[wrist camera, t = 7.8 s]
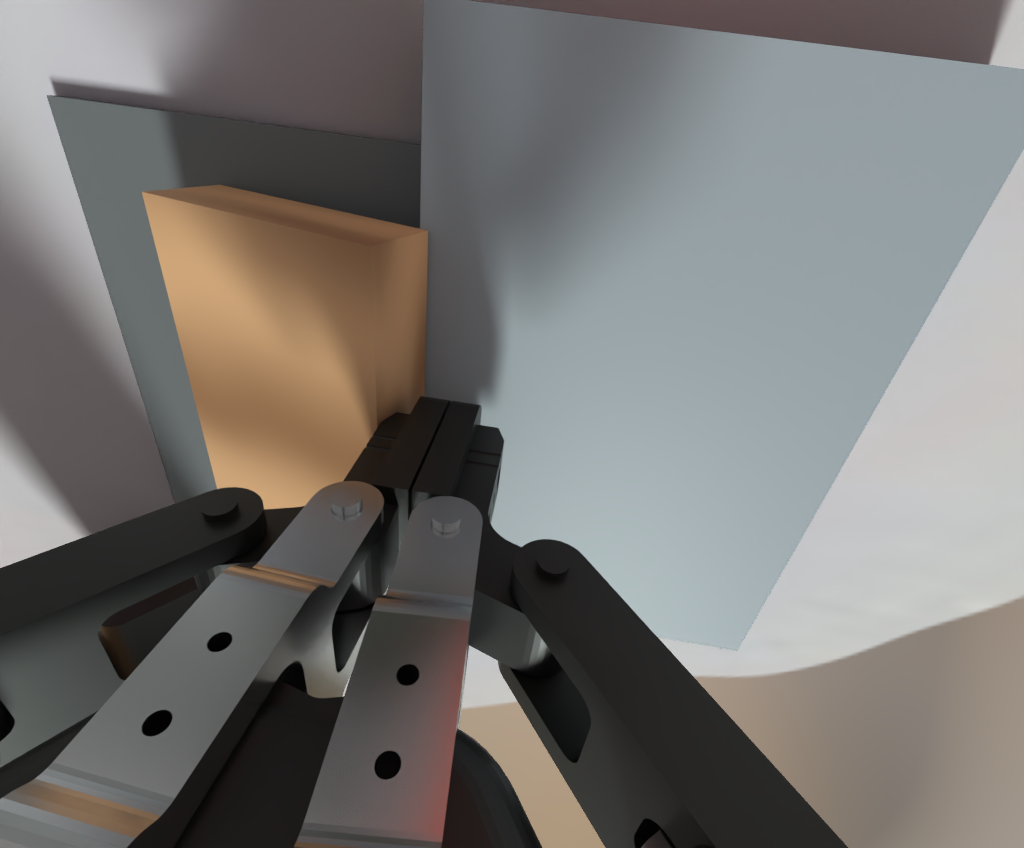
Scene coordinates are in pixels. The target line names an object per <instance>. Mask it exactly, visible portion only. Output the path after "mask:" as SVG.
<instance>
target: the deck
mask: <svg viewBox="0 0 1024 848" xmlns="http://www.w3.org/2000/svg"><path fill="white" fill-rule="evenodd" d="M1023 149H1024V69H1018V68H1010V67H1002V66H994V65H986V64H977V63H969V62H961V61H953V60H945V59H937V58H929V57H921V56H913V55H905V54H897V53H889V52H881V51H873V50H865V49H857V48H849V47H841V46H833V45H825V44H817V43H809V42H801V41H792V40H784V39H776V38H768V37H760V36H752V35H744V34H736V33H728V32H720V31H712V30H704V29H696V28H688V27H680V26H672V25H664V24H656V23H648V22H640V21H632V20H624V19H616V18H607V17H599V16H591V15H583V14H575V13H567V12H559V11H551V10H543V9H535V8H527V7H519V6H511V5H503V4H495V3H487V2H479V1H471V0H423V60H422V130H421V200H420V229H423V230H428V263H427V309H426V354H425V397H432V398H438V399H445V400H450V401H458V402H465V403H471V404H478V405H481V407H482V411H481V423H480V425H483V426H490V427H496V428H499V430H500V432H501V435H502V437H503V439H504V447H503V455H502V464H501V472H500V480H499V488H498V493H497V498H496V502H495V507H494V512H493V516H492V521H491V525H492V527H493V529H494V530H495V531H496V532H497V533H498V534H499V535H500V536H501V537H503V538H504V539H506V540H508V541H509V542H511V543H513V544H516V545H518V546H520V547H522V546H524V545H525V544H527V543H529V542H531V541H535V540H540V539H551V540H557V541H561V542H564V543H566V544H569V545H571V546H572V547H574V548H575V549H577V550H578V551H579V552H580V553H581V554H582V555H583V556H584V557H585V558H586V559H587V560H588V561H589V562H590V563H591V564H592V566H593V567H594V568H595V569H596V570H597V571H598V572H599V573H600V574H601V575H602V577H603V578H604V579H605V580H606V581H607V582H608V583H609V584H610V585H611V587H612V588H613V589H614V590H615V591H616V592H617V593H618V594H619V595H620V596H621V598H622V599H623V600H624V601H625V602H626V603H627V604H628V605H629V606H630V607H631V609H632V610H633V611H634V612H635V613H636V614H637V615H638V616H639V617H640V619H641V620H642V621H643V622H644V623H645V624H646V625H647V626H648V627H649V628H650V630H651V631H652V632H653V633H654V634H655V635H656V636H657V637H659V638H665V639H671V640H677V641H683V642H688V643H694V644H700V645H706V646H712V647H718V648H724V649H730V650H736V651H738V649H739V647H740V645H741V644H742V642H743V640H744V638H745V637H746V635H747V633H748V631H749V630H750V628H751V626H752V624H753V623H754V621H755V619H756V617H757V616H758V614H759V612H760V610H761V609H762V607H763V605H764V603H765V602H766V600H767V598H768V596H769V595H770V593H771V591H772V589H773V587H774V586H775V584H776V582H777V580H778V579H779V577H780V575H781V573H782V572H783V570H784V568H785V566H786V565H787V563H788V561H789V559H790V558H791V556H792V554H793V552H794V551H795V549H796V547H797V545H798V544H799V542H800V540H801V538H802V537H803V535H804V533H805V531H806V530H807V528H808V526H809V524H810V523H811V521H812V519H813V517H814V516H815V514H816V512H817V510H818V509H819V507H820V505H821V503H822V502H823V500H824V498H825V496H826V495H827V493H828V491H829V489H830V488H831V486H832V484H833V482H834V480H835V479H836V477H837V475H838V473H839V472H840V470H841V468H842V466H843V465H844V463H845V461H846V459H847V458H848V456H849V454H850V452H851V451H852V449H853V447H854V445H855V444H856V442H857V440H858V438H859V437H860V435H861V433H862V431H863V430H864V428H865V426H866V424H867V423H868V421H869V419H870V417H871V416H872V414H873V412H874V410H875V409H876V407H877V405H878V403H879V402H880V400H881V398H882V396H883V395H884V393H885V391H886V389H887V388H888V386H889V384H890V382H891V381H892V379H893V377H894V375H895V374H896V372H897V370H898V368H899V366H900V365H901V363H902V361H903V359H904V358H905V356H906V354H907V352H908V351H909V349H910V347H911V345H912V344H913V342H914V340H915V338H916V337H917V335H918V333H919V331H920V330H921V328H922V326H923V324H924V323H925V321H926V319H927V317H928V316H929V314H930V312H931V310H932V309H933V307H934V305H935V303H936V302H937V300H938V298H939V296H940V295H941V293H942V291H943V289H944V288H945V286H946V284H947V282H948V281H949V279H950V277H951V275H952V274H953V272H954V270H955V268H956V267H957V265H958V263H959V261H960V259H961V258H962V256H963V254H964V252H965V251H966V249H967V247H968V245H969V244H970V242H971V240H972V238H973V237H974V235H975V233H976V231H977V230H978V228H979V226H980V224H981V223H982V221H983V219H984V217H985V216H986V214H987V212H988V210H989V209H990V207H991V205H992V203H993V202H994V200H995V198H996V196H997V195H998V193H999V191H1000V189H1001V188H1002V186H1003V184H1004V182H1005V181H1006V179H1007V177H1008V175H1009V174H1010V172H1011V170H1012V168H1013V167H1014V165H1015V163H1016V161H1017V160H1018V158H1019V156H1020V154H1021V152H1022V151H1023Z"/></svg>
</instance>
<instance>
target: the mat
mask: <svg viewBox="0 0 1024 848" xmlns="http://www.w3.org/2000/svg"><path fill="white" fill-rule="evenodd" d="M47 98H48V101H49V104H50V107H51V110H52V114H53V117H54V120H55V123H56V126H57V129H58V133H59V136H60V139H61V142H62V145H63V148H64V152H65V155H66V158H67V161H68V164H69V167H70V171H71V174H72V177H73V180H74V183H75V186H76V190H77V193H78V196H79V199H80V202H81V205H82V209H83V212H84V215H85V218H86V221H87V224H88V228H89V231H90V234H91V237H92V240H93V243H94V247H95V250H96V253H97V256H98V259H99V262H100V266H101V269H102V272H103V275H104V278H105V281H106V285H107V288H108V291H109V294H110V297H111V300H112V304H113V307H114V310H115V313H116V316H117V319H118V323H119V326H120V329H121V332H122V335H123V338H124V342H125V345H126V348H127V351H128V354H129V358H130V361H131V364H132V367H133V370H134V373H135V377H136V380H137V383H138V386H139V389H140V392H141V396H142V399H143V402H144V405H145V408H146V411H147V415H148V418H149V421H150V424H151V427H152V430H153V434H154V437H155V440H156V443H157V446H158V449H159V453H160V456H161V459H162V462H163V465H164V468H165V472H166V475H167V478H168V481H169V484H170V487H171V491H172V494H173V497H174V500H175V503H179V502H181V501H184V500H187V499H189V498H192V497H195V496H198V495H200V494H203V493H206V492H209V491H212V490H215V489H217V486H216V482H215V478H214V474H213V470H212V467H211V463H210V459H209V455H208V451H207V447H206V443H205V439H204V435H203V431H202V427H201V423H200V419H199V415H198V411H197V408H196V404H195V400H194V396H193V392H192V388H191V384H190V380H189V376H188V372H187V368H186V364H185V360H184V356H183V352H182V348H181V345H180V341H179V337H178V333H177V329H176V325H175V321H174V317H173V313H172V309H171V305H170V301H169V297H168V293H167V289H166V286H165V282H164V278H163V274H162V270H161V266H160V262H159V258H158V254H157V250H156V246H155V242H154V238H153V234H152V230H151V227H150V223H149V219H148V215H147V211H146V207H145V203H144V199H143V195H142V192H144V191H155V190H166V189H177V188H189V187H200V186H211V185H224V186H228V187H233V188H237V189H242V190H247V191H251V192H256V193H260V194H265V195H269V196H274V197H278V198H283V199H287V200H292V201H296V202H301V203H306V204H310V205H315V206H319V207H324V208H328V209H333V210H337V211H342V212H346V213H351V214H355V215H360V216H364V217H369V218H374V219H378V220H383V221H387V222H392V223H396V224H401V225H405V226H410V227H414V228H419V229H420V200H421V145H418V144H410V143H403V142H395V141H388V140H381V139H373V138H366V137H358V136H351V135H344V134H336V133H329V132H322V131H314V130H307V129H299V128H292V127H285V126H277V125H270V124H262V123H255V122H248V121H240V120H233V119H226V118H218V117H211V116H203V115H196V114H189V113H181V112H174V111H166V110H159V109H152V108H144V107H137V106H129V105H122V104H115V103H107V102H100V101H93V100H85V99H78V98H70V97H63V96H48V95H47Z"/></svg>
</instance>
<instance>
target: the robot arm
mask: <svg viewBox="0 0 1024 848" xmlns="http://www.w3.org/2000/svg"><path fill="white" fill-rule="evenodd" d="M481 411H482V407H481V405H478V404H471V403H465V402H458V401H450V400H445V399H438V398H432V397H425V396H420V398H419V399H418V401H417V403H416V404H415V406H414V408H413V410H412V412H411V413H410V414H405V413H399V412H396V413H394V414H393V415H391V416H390V417H388V418H386V419H385V420H383V421H382V422H381V423H380V424H379V426H378V428H377V429H376V431H375V432H374V434H373V437H371V438H370V440H369V442H368V443H367V445H366V448H364V449H363V451H362V453H361V454H360V456H359V457H358V459H357V460H356V462H355V463H354V465H353V467H352V468H351V470H350V471H349V473H348V474H347V476H346V478H345V479H344V481H343V482H337V483H334V484H331V485H328V486H326V487H324V488H322V489H321V490H319V491H318V492H317V493H316V494H315V495H314V496H313V497H312V498H311V499H310V500H309V501H308V503H307V504H306V505H305V506H302V507H293V508H278V509H264V505H263V501H262V499H261V497H260V496H259V495H258V494H257V493H255V492H254V491H252V490H249V489H245V488H239V487H227V488H220V489H215V490H212V491H209V492H206V493H203V494H200V495H198V496H195V497H192V498H189V499H187V500H184V501H181V502H179V503H176V504H173V505H170V506H168V507H165V508H162V509H160V510H157V511H154V512H152V513H149V514H146V515H143V516H141V517H138V518H135V519H133V520H130V521H127V522H124V523H122V524H119V525H116V526H114V527H111V528H108V529H106V530H103V531H100V532H97V533H95V534H92V535H89V536H87V537H84V538H81V539H78V540H76V541H73V542H70V543H68V544H65V545H62V546H59V547H57V548H54V549H51V550H49V551H46V552H43V553H41V554H38V555H35V556H32V557H30V558H27V559H24V560H22V561H19V562H16V563H13V564H11V565H8V566H5V567H3V568H0V848H542V846H541V844H540V842H539V840H538V838H537V836H536V834H535V832H534V830H533V828H532V826H531V824H530V821H529V819H528V817H527V815H526V813H525V811H524V809H523V807H522V805H521V803H520V801H519V799H518V796H517V795H516V792H515V790H514V788H513V787H512V785H511V783H510V781H509V779H508V778H507V776H506V775H505V773H504V772H503V770H502V769H501V767H500V766H499V764H498V763H497V762H496V761H495V760H494V759H493V757H492V756H491V755H490V754H489V753H488V752H487V751H486V749H484V748H483V747H482V746H481V745H480V744H479V743H478V742H477V741H475V740H474V739H473V738H472V737H470V736H469V735H467V734H466V733H464V732H463V731H461V730H459V725H460V716H461V708H462V699H463V691H464V683H465V675H466V666H467V658H468V650H469V645H470V646H472V647H474V648H476V649H477V650H479V651H481V652H483V653H485V654H487V655H489V656H491V657H492V658H494V659H496V660H498V665H499V669H500V672H501V674H502V676H503V678H504V679H505V681H506V683H507V684H508V686H509V688H510V689H511V691H512V693H513V694H514V696H515V698H516V699H517V701H518V703H519V704H520V706H521V708H522V709H523V711H524V713H525V714H526V716H527V718H528V719H529V721H530V723H531V724H532V726H533V728H534V729H535V731H536V732H537V734H538V736H539V738H540V739H541V741H542V743H543V744H544V746H545V747H546V749H547V751H548V753H549V754H550V756H551V757H552V759H553V761H554V762H555V764H556V766H557V767H558V769H559V771H560V772H561V774H562V776H563V777H564V779H565V781H566V782H567V784H568V786H569V787H570V789H571V790H572V792H573V794H574V796H575V797H576V799H577V801H578V802H579V804H580V806H581V807H582V809H583V811H584V812H585V814H586V816H587V817H588V819H589V821H590V822H591V824H592V826H593V827H594V829H595V831H596V832H597V834H598V836H599V837H600V839H601V841H602V842H603V844H604V846H605V847H606V848H848V847H847V846H846V845H845V844H844V843H843V841H842V840H841V839H840V838H839V837H838V836H837V835H836V834H835V833H834V832H833V831H832V829H831V828H830V827H829V826H828V825H827V824H826V823H825V822H824V820H822V818H821V817H820V816H819V815H818V814H817V813H816V812H815V811H814V810H813V808H812V807H811V806H810V805H809V804H808V803H807V802H806V801H805V800H804V798H803V797H802V796H801V795H800V794H799V793H798V792H797V791H796V790H795V788H794V787H793V786H792V785H791V784H790V783H789V782H788V781H787V780H786V779H785V777H784V776H783V775H782V774H781V773H780V772H779V771H778V770H777V769H776V768H775V767H774V765H773V764H772V763H771V762H770V761H769V760H768V759H767V758H766V756H765V755H764V754H763V753H762V752H761V751H760V750H759V749H758V748H757V747H756V746H755V744H754V743H753V742H752V741H751V740H750V739H749V738H748V737H747V736H746V734H745V733H744V732H743V731H742V730H741V729H740V728H739V727H738V726H737V724H736V723H735V722H734V721H733V720H732V719H731V718H730V717H729V716H728V715H727V713H726V712H725V711H724V710H723V709H722V708H721V707H720V706H719V705H718V704H717V702H716V701H715V700H714V699H713V698H712V697H711V696H710V695H709V694H708V693H707V691H706V690H705V689H704V688H703V687H702V686H701V685H700V684H699V683H698V681H697V680H696V679H695V678H694V677H693V676H692V675H691V674H690V673H689V671H688V670H687V669H686V668H685V667H684V666H683V665H682V664H681V663H680V662H679V660H678V659H677V658H676V657H675V656H674V655H673V654H672V653H671V652H670V651H669V649H668V648H667V647H666V646H665V645H664V644H663V643H662V642H661V641H660V639H659V638H658V637H657V636H656V635H655V634H654V633H653V632H652V631H651V630H650V628H649V627H648V626H647V625H646V624H645V623H644V622H643V621H642V620H641V619H640V617H639V616H638V615H637V614H636V613H635V612H634V611H633V610H632V609H631V607H630V606H629V605H628V604H627V603H626V602H625V601H624V600H623V599H622V598H621V596H620V595H619V594H618V593H617V592H616V591H615V590H614V589H613V588H612V587H611V585H610V584H609V583H608V582H607V581H606V580H605V579H604V578H603V577H602V575H601V574H600V573H599V572H598V571H597V570H596V569H595V568H594V567H593V566H592V564H591V563H590V562H589V561H588V560H587V559H586V558H585V557H584V556H583V555H582V554H581V553H580V552H579V551H578V550H577V549H575V548H574V547H572V546H571V545H569V544H566V543H564V542H561V541H557V540H551V539H540V540H535V541H531V542H529V543H527V544H525V545H524V546H522V547H520V546H518V545H516V544H513V543H511V542H509V541H508V540H506V539H504V538H503V537H501V536H500V535H499V534H498V533H497V532H496V531H495V530H494V529H493V527H492V525H491V521H492V516H493V512H494V507H495V502H496V498H497V493H498V488H499V480H500V472H501V464H502V455H503V447H504V439H503V437H502V435H501V432H500V430H499V428H496V427H490V426H483V425H480V423H481ZM192 577H194V579H195V582H196V585H197V588H198V589H196V590H194V591H192V592H190V593H188V594H186V595H184V596H181V597H179V598H177V599H175V600H173V601H171V602H169V603H167V604H165V605H163V606H161V607H158V608H156V609H154V610H152V611H150V612H148V613H146V614H144V615H142V616H140V617H137V618H135V619H133V620H131V621H129V622H127V623H125V624H122V625H119V626H115V627H104V626H101V625H102V624H103V622H104V621H105V620H106V619H108V618H109V617H110V616H111V615H113V614H114V613H116V612H118V611H120V610H122V609H124V608H127V607H129V606H131V605H133V604H135V603H137V602H140V601H142V600H144V599H146V598H148V597H150V596H153V595H155V594H157V593H159V592H161V591H163V590H166V589H168V588H170V587H172V586H174V585H176V584H179V583H181V582H183V581H185V580H187V579H189V578H192ZM388 585H389V586H388ZM387 588H388V590H387ZM351 673H352V674H351ZM350 675H351V677H350ZM349 677H350V680H349V683H348V686H347V690H346V693H345V696H344V697H342V696H343V692H344V689H345V686H346V684H347V681H348V679H349Z"/></svg>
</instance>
